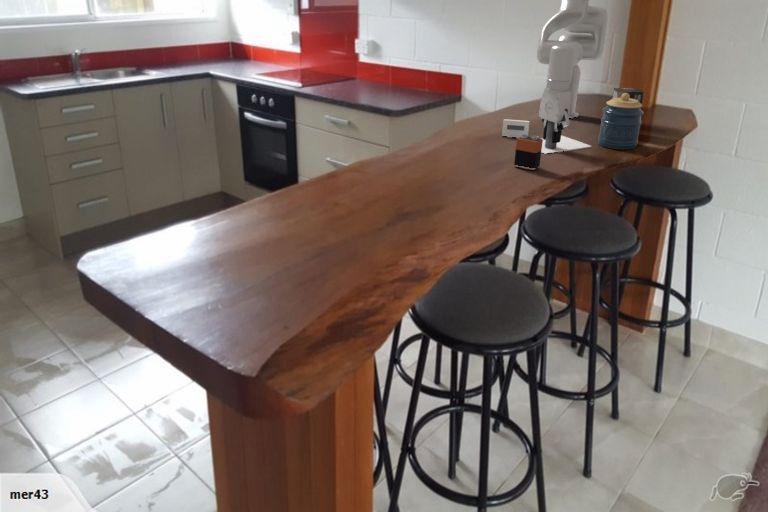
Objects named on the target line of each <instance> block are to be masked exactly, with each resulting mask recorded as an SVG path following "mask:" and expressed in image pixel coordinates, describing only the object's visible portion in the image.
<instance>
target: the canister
mask: <svg viewBox="0 0 768 512" xmlns="http://www.w3.org/2000/svg"><path fill="white" fill-rule="evenodd" d="M612 98H613V97H612ZM612 98H611V99H610V100H608V101H606V106H605V107H603V108H602V112H603V115H602V117H601V118H600V121H601V123H600V128H599V134H598V138H597V140H598V141H597V143H598V145H599V146H601V147H604V148H605V149H612V150H624V151H625V150H634V149H635V148H636V147H637V145H638V142H639V134H640V131H641V130H640V129H641V125H642V115H644V111H643V110H642V107H643V103H642V104H641V103H639V102H638V100H635V99H631V98H630V96H629V94H628V93H624V94H622V96H621V98H613V99H612ZM640 107H641V109H640Z"/></svg>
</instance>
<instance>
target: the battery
mask: <svg viewBox="0 0 768 512" xmlns="http://www.w3.org/2000/svg"><path fill="white" fill-rule="evenodd" d="M542 142H543V140H542V139H541V137H539V135H532V136H529V135H528V136H527V135H522V136H521V137H519V138H516V143H515V154H514V163H513V166H514V165H518V166H524V167H529V168H537V167H538V166H539V167H540V164H541V156H542V153H541V150H542ZM537 169H538V168H537Z"/></svg>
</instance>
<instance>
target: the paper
mask: <svg viewBox="0 0 768 512" xmlns="http://www.w3.org/2000/svg"><path fill="white" fill-rule="evenodd" d="M540 139H542V140H543V142H542V150H541V154H542V153H544V154H543V155H548V154H547V153H552V154H555V153H554V152H558V153H563V151H564V152H570V151H575V150H583V149H589V148H593V147H592V145H590V144H588V143H585V142H581V141H579V140H576V139H573V138H570V137H568V136H566V135H565V136H564V135H561V140H560V142H558V143H557V146H556V148H553V149H551V148H546V147H545V140H544V139H543V137H542V138H541V137H540Z"/></svg>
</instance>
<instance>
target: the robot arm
mask: <svg viewBox="0 0 768 512" xmlns="http://www.w3.org/2000/svg"><path fill="white" fill-rule="evenodd" d="M589 3H590V0H559V5H558V10H557V12H556V13H555V14H554V15H553V16H552V17H550V19H548V21H546V22H545V24H544V26H543V27H542V29H541V32H540V35H539V39H538V45H537V51H536V58H537V61H538V63H540V64H542V65H548V70H547V76H546V78H547V79H546V86H545V87H544V89H543V93H542V96H541V98H540V99H541V100H540V106H539V111H538V115H539V118H540V119H541V122H542V127H543V134H542V135H543V136H542V138H543V139H544V140H546V132H547V124H548V121H551V122H555V129H554V130H555V131H553V135H552V143H558V142H560V140H561V136H562V131H564V130H565V128H567V127H568V126H570V119H569V118H571V119H575V118H574V117H576V118H578V117H579V116H580V115H579V114H580V113H579V112H578V111H576V107H577V100H578V94H579V86H580V79H581V68H580V67H579V65H578V64H579V62H580V61H597V60H599V59H600V58H601V57H602V55H603V52H604V48H605V43H606V42H605V41H606V35H607V28H608V19H609V18H608V17H609V14H608V10H607V8H605V7H603V6H597V5H595V6H593V5H592V6H591V5H589ZM562 29H564V31H565V32H567V33H564V34H561V35H560V36H559V37H558V39H557V40H554V39H553V40H552V39H551V40H549V38H550V37H551V36H552V35H553V34H554V33H555V32H557V31H560V30H562ZM558 123H559V126H558Z"/></svg>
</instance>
